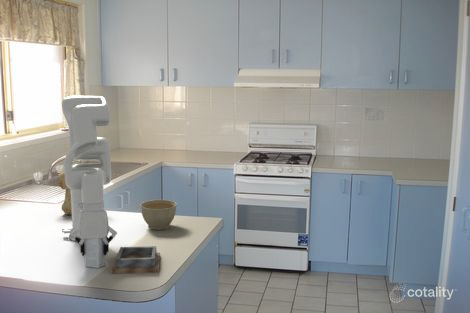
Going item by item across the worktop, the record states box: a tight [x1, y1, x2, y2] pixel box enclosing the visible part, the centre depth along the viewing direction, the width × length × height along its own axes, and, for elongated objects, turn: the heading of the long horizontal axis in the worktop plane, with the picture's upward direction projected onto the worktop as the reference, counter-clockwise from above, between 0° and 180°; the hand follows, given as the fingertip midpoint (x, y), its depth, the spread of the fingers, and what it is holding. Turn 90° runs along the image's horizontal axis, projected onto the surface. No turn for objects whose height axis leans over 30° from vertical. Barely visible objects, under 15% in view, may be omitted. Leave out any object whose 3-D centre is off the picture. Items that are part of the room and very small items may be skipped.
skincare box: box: [84, 236, 106, 269], centre depth 184 cm, size 6×4×12 cm
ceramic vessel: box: [57, 170, 72, 216], centre depth 253 cm, size 17×20×25 cm
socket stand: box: [111, 245, 161, 275], centre depth 186 cm, size 16×16×4 cm
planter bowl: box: [140, 199, 178, 231], centre depth 231 cm, size 16×16×11 cm
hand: (94, 253), depth 184 cm, fingers closed on skincare box, 7 cm apart
